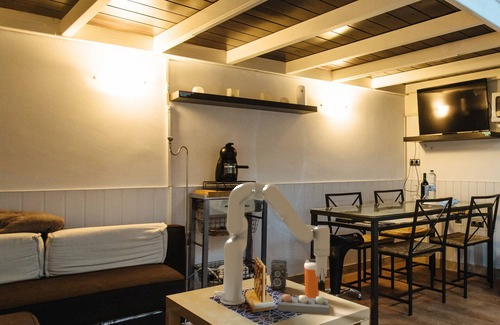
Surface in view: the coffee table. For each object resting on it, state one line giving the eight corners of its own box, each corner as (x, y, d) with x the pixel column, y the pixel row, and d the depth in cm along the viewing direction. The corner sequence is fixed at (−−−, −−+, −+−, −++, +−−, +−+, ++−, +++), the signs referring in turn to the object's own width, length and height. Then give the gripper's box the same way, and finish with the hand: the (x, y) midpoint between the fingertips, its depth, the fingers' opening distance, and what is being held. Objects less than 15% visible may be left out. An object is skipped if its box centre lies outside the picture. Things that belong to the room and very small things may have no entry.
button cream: (299, 304, 196) (299, 297, 196) (298, 301, 200) (299, 294, 200) (307, 304, 196) (307, 298, 196) (307, 301, 200) (307, 295, 200)
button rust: (282, 303, 197) (282, 296, 197) (282, 300, 201) (282, 293, 201) (290, 303, 197) (290, 296, 197) (290, 300, 201) (290, 294, 201)
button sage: (315, 305, 196) (316, 298, 196) (315, 302, 200) (315, 295, 200) (324, 305, 195) (324, 299, 195) (323, 302, 199) (323, 296, 199)
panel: (277, 310, 194) (277, 304, 194) (278, 301, 205) (278, 296, 205) (329, 314, 191) (329, 307, 191) (327, 305, 203) (327, 299, 203)
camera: (267, 290, 223) (268, 263, 223) (270, 285, 234) (270, 258, 233) (286, 292, 221) (287, 264, 221) (288, 286, 232) (289, 260, 232)
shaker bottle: (320, 301, 208) (321, 262, 208) (302, 299, 210) (303, 260, 210) (320, 295, 217) (321, 258, 217) (303, 294, 219) (305, 256, 219)
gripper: (313, 248, 205) (312, 285, 205) (314, 255, 190) (314, 294, 190) (328, 249, 204) (327, 285, 204) (331, 255, 190) (330, 295, 189)
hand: (321, 289), depth 197 cm, fingers closed
